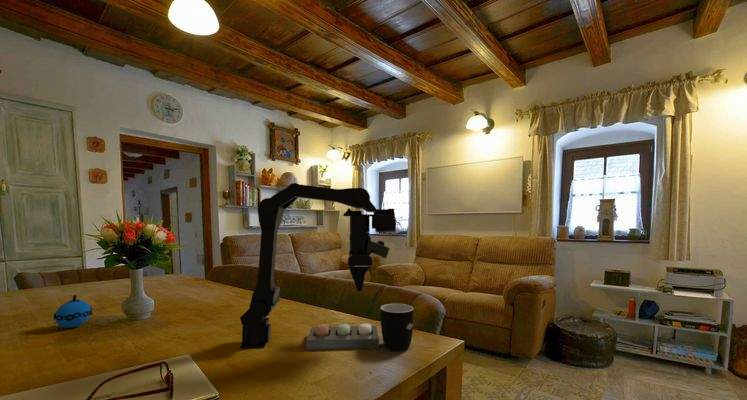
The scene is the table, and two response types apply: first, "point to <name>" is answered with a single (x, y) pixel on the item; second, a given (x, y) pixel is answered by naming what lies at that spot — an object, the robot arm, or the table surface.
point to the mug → (397, 326)
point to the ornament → (72, 313)
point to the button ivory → (365, 329)
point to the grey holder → (342, 339)
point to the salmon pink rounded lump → (321, 330)
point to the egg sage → (343, 329)
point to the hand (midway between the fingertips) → (359, 287)
